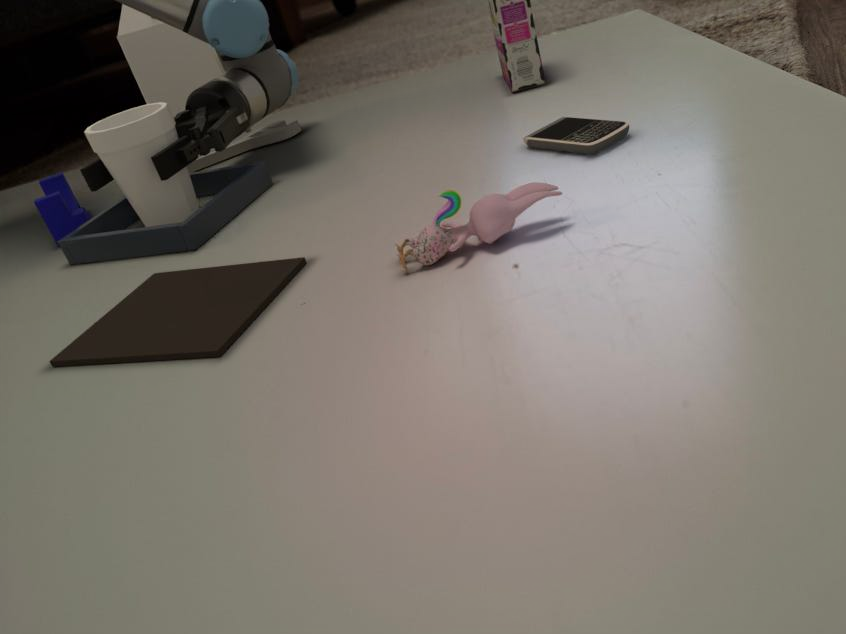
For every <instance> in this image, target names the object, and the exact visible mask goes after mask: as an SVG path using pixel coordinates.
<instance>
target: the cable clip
mask: <svg viewBox="0 0 846 634" xmlns="http://www.w3.org/2000/svg"><path fill="white" fill-rule="evenodd" d="M38 184H39V185H40V187H41V189H42V192H43V193H44V196H41V197H38V198H35V199H34V200H33V203H34V205H35V207H36V209H37V211H38V213H39V214H40V216H41V218H42V220H43V222H44V224H45V225H46V227H47V229H48V231H49V233H50V234H51V236H52V238H53V239H54V242H55V243H56V245H57V247H58V248H60V246H59V244H58V241H59V240H61V239H62V238H64V237H65V236H66V235H68V234H69V233H71V232H72V231H74V230H75V229H77V228H78V227H80V226H81V225H83V224H84V223H86V222H87V221H88V220H90V219H91V218H93V217H94V216H93V214H92V213H91V211H90V210H87V209H86V208H85V206H81V205H80V203H79V200H78V199H77V197H76V195H75V194H74V191H73V190H72V188H71V186H70V184H69V182H68V180H67V178H66V177H65V174H64V172H63V171H61V172H57V173H56V174H53V175H50V176H47V177H43V178H41V179H39V180H38Z"/></svg>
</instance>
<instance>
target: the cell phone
mask: <svg viewBox="0 0 846 634" xmlns="http://www.w3.org/2000/svg"><path fill="white" fill-rule="evenodd" d="M629 131H630V124H629V122H626V121H620V120H609V119H595V118H584V117H583V118H582V117H569V116H562V117H560V118H557V119H556V120H554V121H552V122H550V123H548V124H547V125H545V126H542V127H541V128H539V129H537V130H535V131H533V132H532V133H530V134H527V135H526V136H524V137H522V140H523V143H524V144H525V145H526V146H527V147H528V148H535V149H542V150H552V151H560V152H568V153H574V154H575V153H576V154H582V155H583V154H585V155H595V154H597V153H599V152H601V151H602V150H604V149H606V148H608V147H610V146H611V145H613V144H615V143H616V142H618V141H620V140H622V139H623V138H625V137H626V136H627V135H628V133H629Z"/></svg>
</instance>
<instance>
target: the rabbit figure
mask: <svg viewBox="0 0 846 634" xmlns="http://www.w3.org/2000/svg"><path fill="white" fill-rule="evenodd" d="M557 190H559V186H557V185H555V184H552V183H548V182H547V183H546V182H540V181H539V182H538V181H537V182H536V181H535V182H534V181H533V182H529V183H526V184H523V185H520V186H517V187H516V188H513V189H512V190H511V191H509V192H508V193H506V194H505V193H504V194H501V193H490V194H487V195H485V196H483V197H481V198H480V199H478V200H477V201H476V202H474V204H473V205H472V206H471V208H470V211H469V221H468V222H467V223H466V224H461V223H458V222H454V221H443V220H446V219H449V218H451V217H453V216H455V215H456V214H457V213H458V212H459V211H460V209H461V206H462V198H461V196H460V194H459V193H458V192H457V191H456V190H451V189H450V190H445V191H443V192H442V193H441V194H440V195H438V198H442V199H443V198H444V199H446V200H447V202H446V203H445V204H444V205H441V207H440V208H439V209H438V210H437V212H436V213H435V215H434V218H433V220H432V222H431V224H429V225H427V226H425V227H424V228H422V229H421V230H420V232H419V234H418V236H416V237H413V238H410V237H406V238H404V240H403V242H402V243H401V245H398V244H397V243H394V245H395V246H396V247H397V249H396V250H397V252H398V254H396V256H397V257H399V258H398V261H399V263H400V266H401V267H402V268H403V272H405V274H407V273H408V271H409V270H408V269H409V268H408V266H407V265H406V259H407V258H408V256H411V257H413V258H414V259H415V260H416V261H417V262H418V263H420V264H421V265H422V266H433V265H434V264H436V263H437V262H438V261H439V260H441V258H443V257H444V256H445V255H446V254H447V253H448V252H449V251H450V252H451V253H452V252H455V251H456V250H458V248H461V247H462V246H463V245H464V244H465V243H466V241H467V240H468V239H469V238H470V237H472V236H475V237H477V240H478V241H479V242H485V243H487V244H488V245H492V244H493V243H494V242H495V241H498V240H499V238H500V237H502V236H503V235H506V234H507V233H509V232H510V231H512V230H513V228H514V226H515V223H516V219H517V218H518V217H519V216H521V214H523V213H524V212H525V211H526V210H527V209H530V207H532V206H533V205H534V204H536V203H537V202H539V201H542V200H543V199H545V198H549V197H557V196H561V195H563V192H562V191H560V190H559V191H557ZM441 222H442V223H441ZM406 246H409V247H410V248H407V250H406V251H405V253H404V248H405V247H406Z"/></svg>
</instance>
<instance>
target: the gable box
mask: <svg viewBox="0 0 846 634" xmlns="http://www.w3.org/2000/svg"><path fill="white" fill-rule="evenodd" d="M121 4H122V3H121ZM120 11H121V12H120V16H119V23H118V30H117V34H116V39H117V41H118V43H119V46H120V47H121V50H122V52H123V55H124V57H125V59H126V61H127V63H128V65H129V68H130V70H131V73H132V75H133V77H134V79H135V81H136V83H137V85H138V88H139V90H140V93H141V95H142V96H143V99H144V101H145V103H146V104H151V103H158V102H164V103H167V104H168V106H169V109H170V111H171V113H172V116H173V118H174V117H175V116H176V114H178V113H180V112H182V111H185V106H186V101H187V98H188V96H189V95H190V94H191V93H192V92H193V91H194V90H196V89H197V88H199V87H201V86H202V85H204V84H206V83H208V82H209V81H210V80H212V79H214V78H215V77H217V76H219V75H221V74H222V73H224V72H226V69H225V67H224V64H223V61H222V60H221V57H220V54H219V52H218V51H217V50H216V49H215V48H214V47H212V46H211V45H210V44H208V43H206V42H204V41H201V40H199V39H197V38H195V37H193V36H191V35H189V34H187V33H185V32H183V31H181V30H179V29H177V28H174V27H172V26H170V25H168V24H166V23H163V22H161V21H159V20H157V19H155V18H152V17H150V16H148V15H146V14H144V13H141V12H139V11H137V10H135V9H133V8H130V7H128V6H126V5H124V4H122V5H121V10H120Z"/></svg>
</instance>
